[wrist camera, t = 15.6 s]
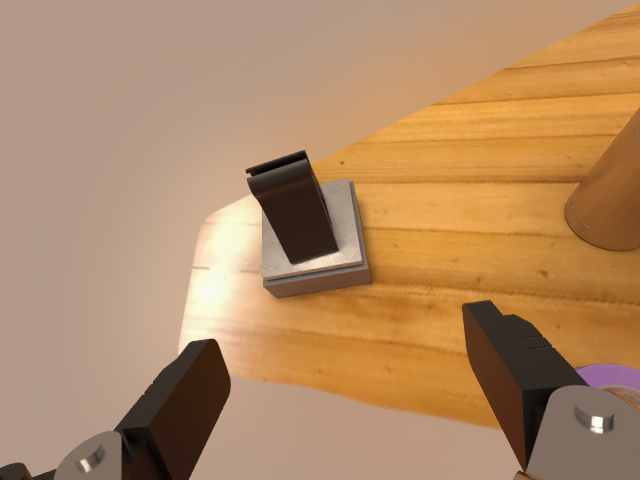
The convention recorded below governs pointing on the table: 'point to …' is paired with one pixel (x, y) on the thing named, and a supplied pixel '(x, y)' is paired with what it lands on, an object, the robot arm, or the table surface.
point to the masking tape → (614, 380)
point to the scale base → (325, 271)
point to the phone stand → (294, 206)
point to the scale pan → (347, 255)
